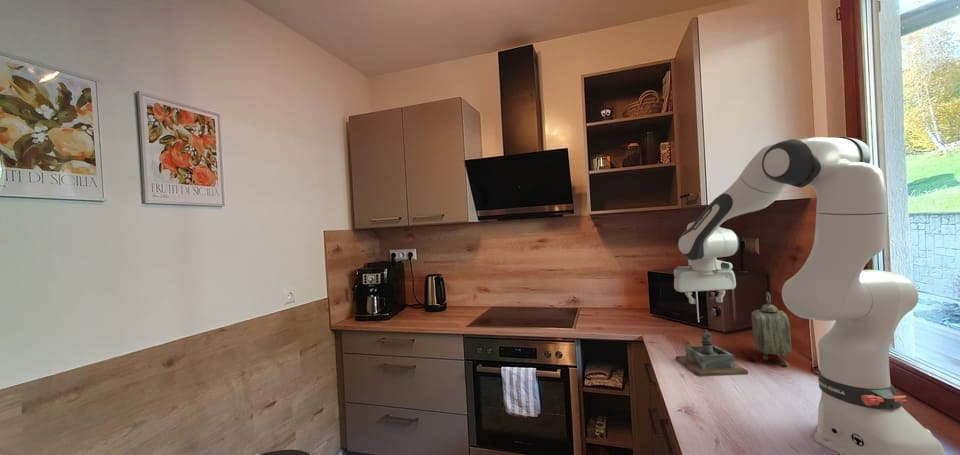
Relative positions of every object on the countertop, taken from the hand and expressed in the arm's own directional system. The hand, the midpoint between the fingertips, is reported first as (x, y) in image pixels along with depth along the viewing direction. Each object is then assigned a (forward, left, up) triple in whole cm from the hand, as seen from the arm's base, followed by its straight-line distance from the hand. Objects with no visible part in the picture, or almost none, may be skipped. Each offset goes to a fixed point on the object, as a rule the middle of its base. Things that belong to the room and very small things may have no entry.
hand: (705, 302), depth 127 cm
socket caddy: (+1, 0, -23) cm, 23 cm away
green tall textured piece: (+4, -24, -23) cm, 33 cm away
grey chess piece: (0, +1, -22) cm, 22 cm away
